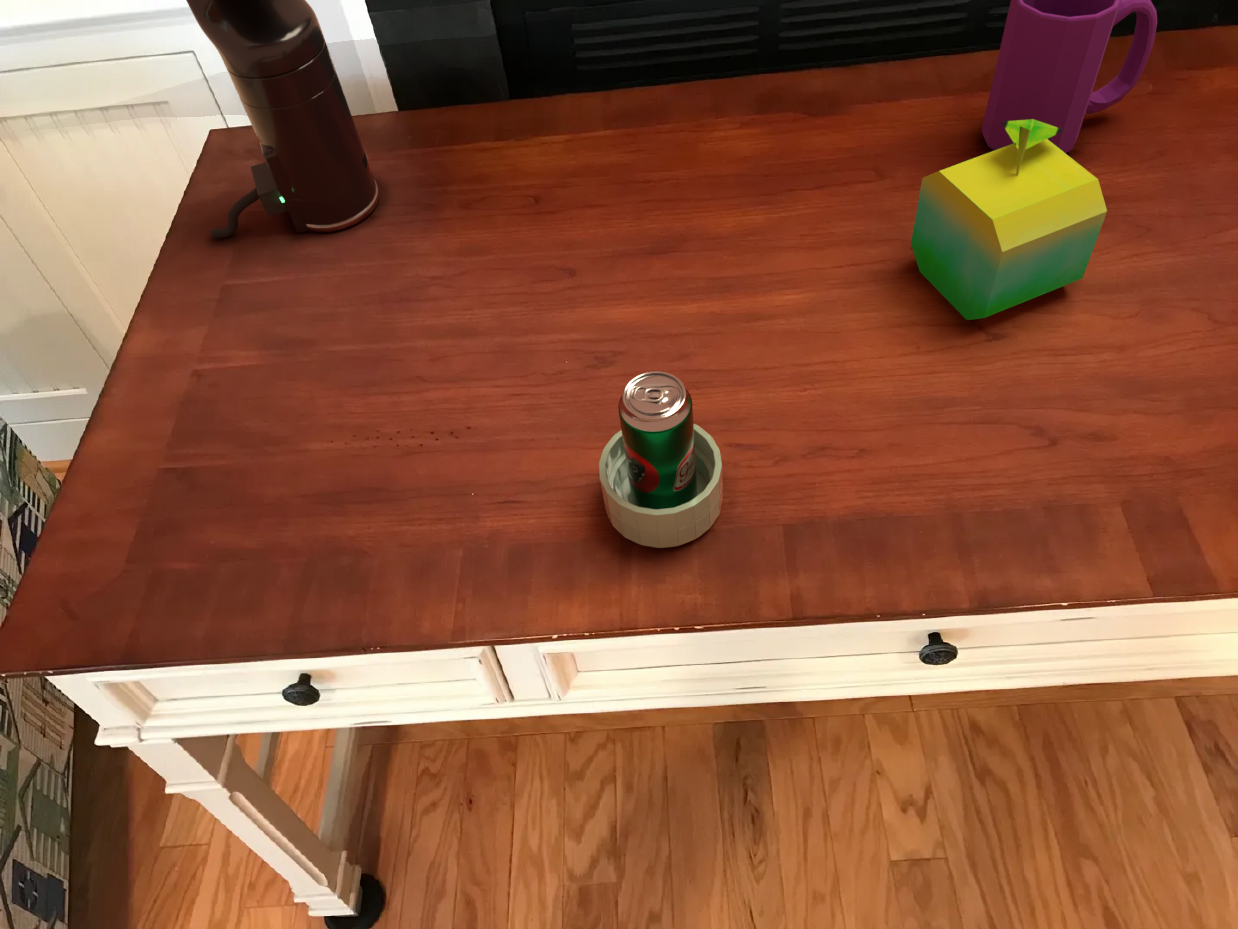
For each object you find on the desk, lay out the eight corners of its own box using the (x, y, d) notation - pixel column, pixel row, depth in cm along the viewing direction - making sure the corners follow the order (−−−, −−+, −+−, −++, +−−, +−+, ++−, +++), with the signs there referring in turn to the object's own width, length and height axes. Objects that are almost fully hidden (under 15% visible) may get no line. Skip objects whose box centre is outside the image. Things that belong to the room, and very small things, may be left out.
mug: (963, 124, 101) (993, -20, 89) (1098, 87, 103) (1146, -60, 91) (1010, 175, 96) (1049, 28, 84) (1153, 135, 97) (1211, -15, 85)
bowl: (632, 569, 73) (626, 532, 69) (589, 480, 78) (581, 441, 74) (742, 525, 74) (742, 487, 70) (693, 441, 79) (690, 401, 75)
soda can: (692, 527, 74) (685, 426, 64) (626, 520, 75) (610, 419, 65) (701, 473, 77) (696, 369, 67) (637, 468, 78) (624, 363, 68)
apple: (1076, 294, 85) (1131, 145, 73) (979, 333, 83) (1019, 187, 72) (999, 224, 91) (1037, 76, 80) (907, 259, 90) (933, 114, 78)
